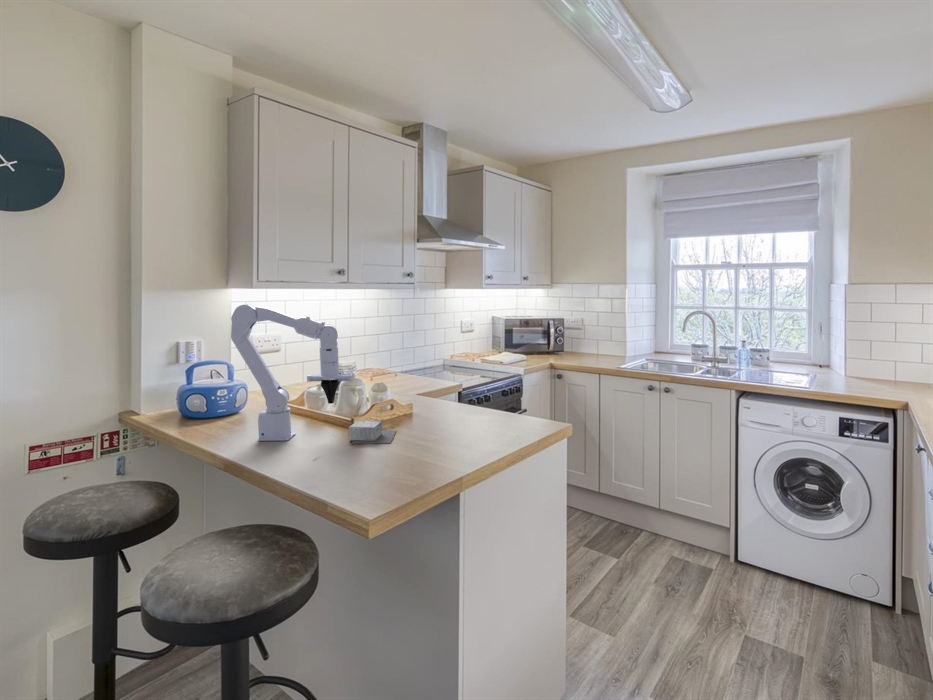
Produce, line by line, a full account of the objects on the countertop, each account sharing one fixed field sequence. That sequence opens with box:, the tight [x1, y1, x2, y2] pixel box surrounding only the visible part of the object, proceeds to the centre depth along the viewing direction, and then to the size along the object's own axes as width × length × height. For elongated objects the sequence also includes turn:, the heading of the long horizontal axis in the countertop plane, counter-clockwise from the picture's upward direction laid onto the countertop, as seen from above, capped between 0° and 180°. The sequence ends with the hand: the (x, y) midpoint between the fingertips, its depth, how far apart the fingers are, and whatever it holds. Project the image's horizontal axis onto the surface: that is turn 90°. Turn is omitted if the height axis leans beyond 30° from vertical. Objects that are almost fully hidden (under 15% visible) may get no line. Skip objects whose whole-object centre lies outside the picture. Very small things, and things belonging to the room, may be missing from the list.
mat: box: [351, 430, 397, 445], centre depth 165 cm, size 12×14×1 cm
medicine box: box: [348, 420, 383, 441], centre depth 164 cm, size 8×4×9 cm
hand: (331, 402), depth 169 cm, fingers closed
